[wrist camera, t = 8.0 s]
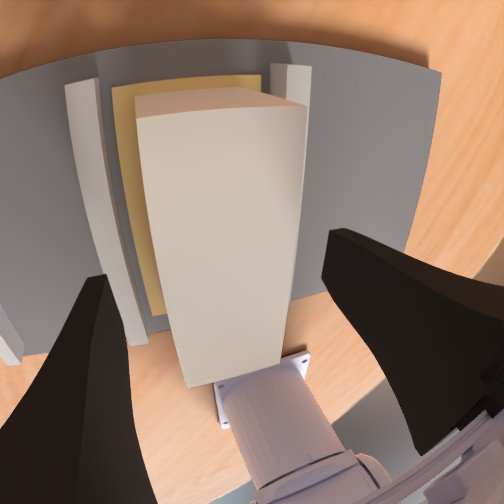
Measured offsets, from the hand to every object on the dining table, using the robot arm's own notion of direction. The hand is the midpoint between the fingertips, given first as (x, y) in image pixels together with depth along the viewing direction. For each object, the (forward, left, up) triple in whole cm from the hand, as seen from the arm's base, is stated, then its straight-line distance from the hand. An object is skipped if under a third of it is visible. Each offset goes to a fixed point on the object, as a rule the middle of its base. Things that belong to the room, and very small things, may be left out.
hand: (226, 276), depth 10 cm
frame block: (0, 0, -5) cm, 5 cm away
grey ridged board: (0, 0, -6) cm, 6 cm away
